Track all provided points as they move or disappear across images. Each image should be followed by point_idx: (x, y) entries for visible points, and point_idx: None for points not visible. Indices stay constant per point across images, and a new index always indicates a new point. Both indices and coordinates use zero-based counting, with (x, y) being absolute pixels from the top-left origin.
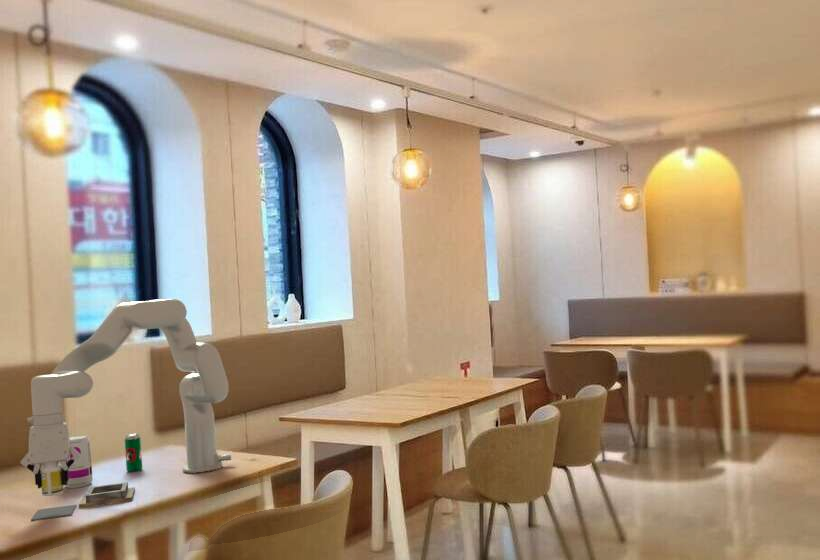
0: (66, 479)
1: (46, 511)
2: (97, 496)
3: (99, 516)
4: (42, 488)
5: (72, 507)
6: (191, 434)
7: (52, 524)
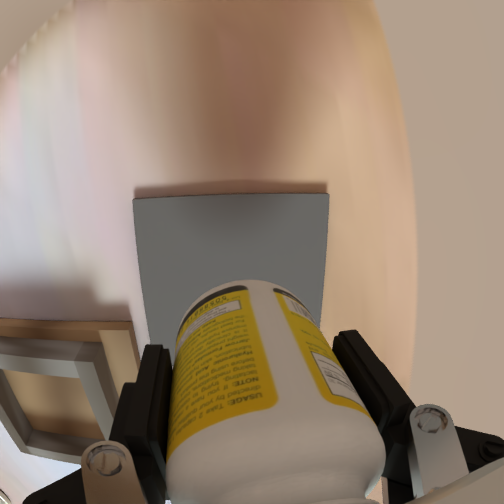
0: (132, 385)
1: None
2: (50, 352)
3: (10, 122)
4: (320, 331)
5: (158, 325)
6: None
7: (204, 70)
